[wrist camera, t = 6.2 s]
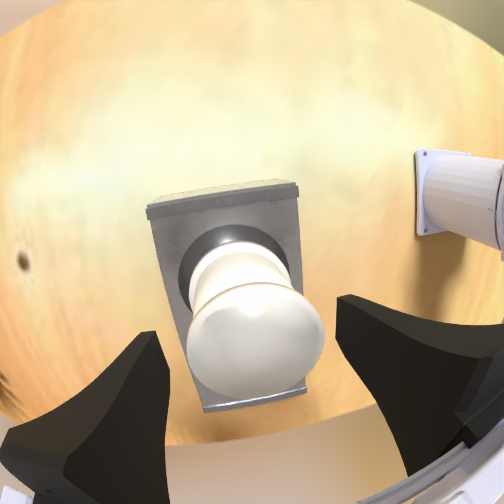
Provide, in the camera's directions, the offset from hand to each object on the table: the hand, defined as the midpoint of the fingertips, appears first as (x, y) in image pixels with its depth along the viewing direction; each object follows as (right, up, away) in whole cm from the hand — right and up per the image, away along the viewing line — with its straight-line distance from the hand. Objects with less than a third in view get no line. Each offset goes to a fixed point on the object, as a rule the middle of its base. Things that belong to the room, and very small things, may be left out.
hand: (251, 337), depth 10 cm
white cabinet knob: (-1, +1, +5) cm, 6 cm away
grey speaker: (-1, 0, +11) cm, 11 cm away
